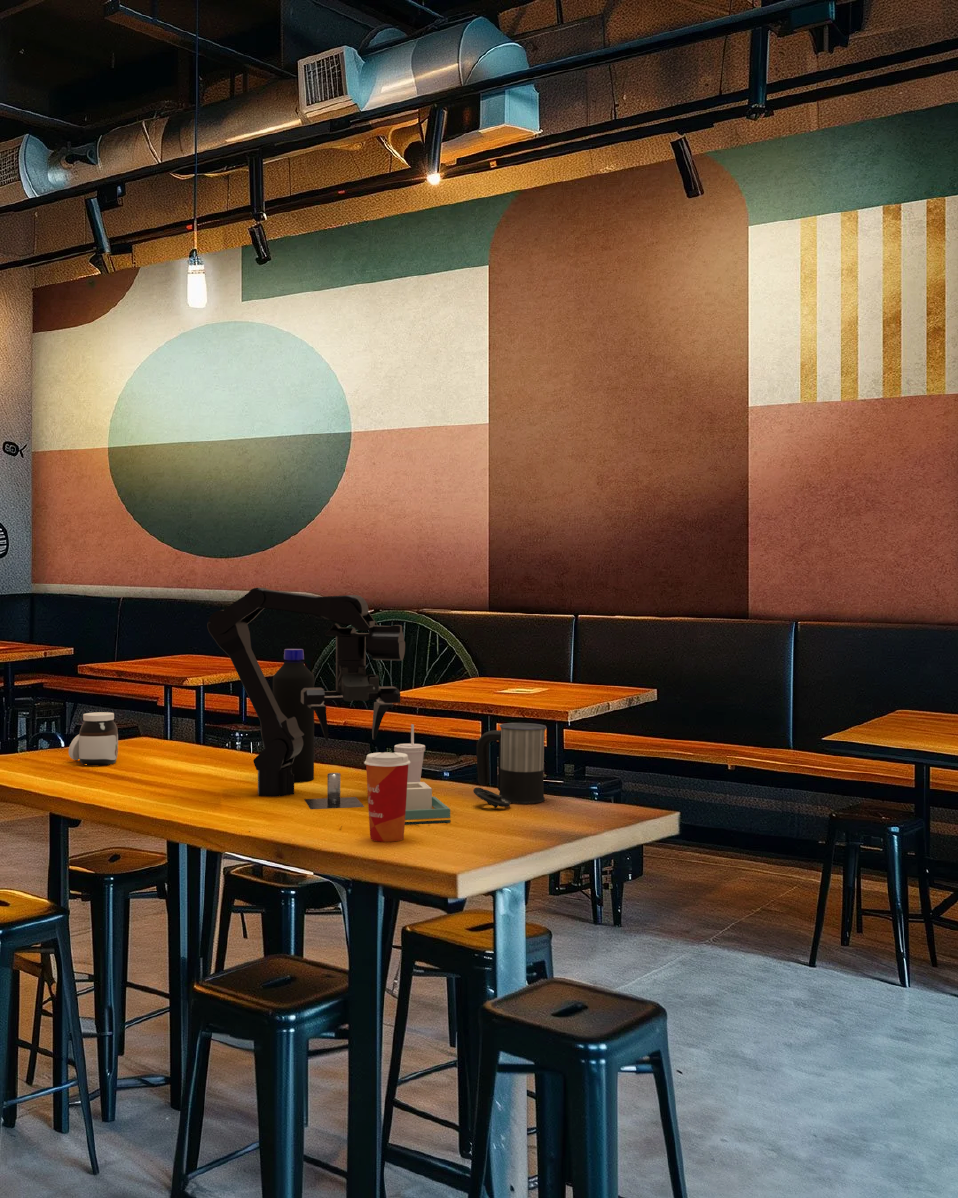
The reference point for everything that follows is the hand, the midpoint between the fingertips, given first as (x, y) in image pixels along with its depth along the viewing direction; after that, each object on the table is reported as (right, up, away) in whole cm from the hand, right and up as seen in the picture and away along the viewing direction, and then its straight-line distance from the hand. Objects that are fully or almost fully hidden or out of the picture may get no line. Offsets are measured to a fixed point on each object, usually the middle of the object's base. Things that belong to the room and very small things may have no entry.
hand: (350, 740), depth 232 cm
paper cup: (+10, -13, -32) cm, 36 cm away
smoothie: (+11, -12, +9) cm, 19 cm away
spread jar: (-65, -11, +46) cm, 80 cm away
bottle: (-15, -12, +25) cm, 32 cm away
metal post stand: (-2, -12, -7) cm, 14 cm away
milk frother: (+31, -12, -1) cm, 33 cm away
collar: (+12, -12, -15) cm, 23 cm away
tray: (+12, -12, -15) cm, 23 cm away
